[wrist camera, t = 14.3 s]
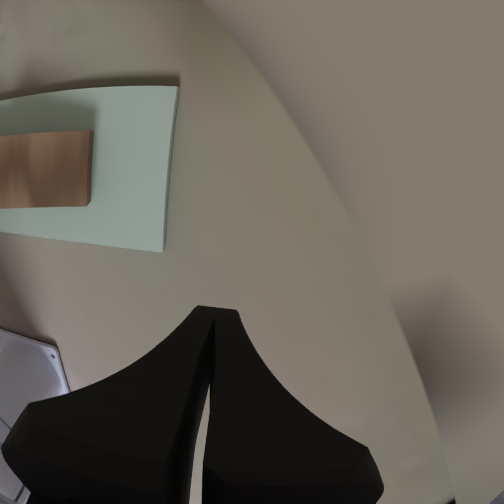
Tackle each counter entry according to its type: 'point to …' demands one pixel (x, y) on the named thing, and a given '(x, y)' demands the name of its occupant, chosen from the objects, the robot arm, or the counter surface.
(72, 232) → the board
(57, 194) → the domino
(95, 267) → the counter surface
